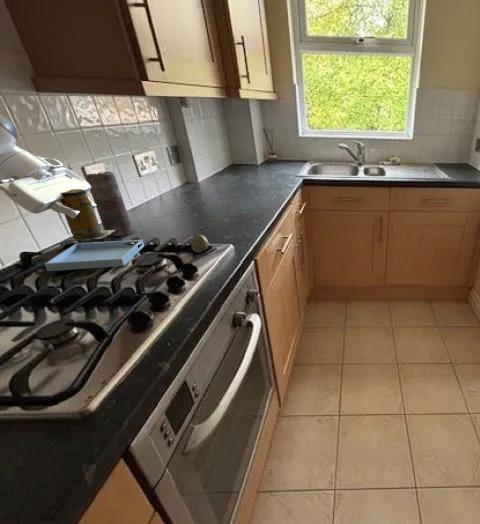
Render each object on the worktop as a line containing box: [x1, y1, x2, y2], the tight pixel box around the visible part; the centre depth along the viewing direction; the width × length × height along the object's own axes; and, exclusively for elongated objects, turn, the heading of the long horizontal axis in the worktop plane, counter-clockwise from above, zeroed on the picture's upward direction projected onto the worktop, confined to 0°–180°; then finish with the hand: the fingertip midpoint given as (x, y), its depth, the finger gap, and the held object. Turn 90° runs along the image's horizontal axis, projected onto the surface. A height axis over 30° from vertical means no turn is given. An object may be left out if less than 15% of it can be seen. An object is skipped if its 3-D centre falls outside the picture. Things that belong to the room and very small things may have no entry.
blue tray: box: [44, 239, 145, 272], centre depth 91 cm, size 17×14×2 cm
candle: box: [84, 171, 134, 237], centre depth 104 cm, size 8×7×20 cm
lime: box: [190, 234, 210, 254], centre depth 96 cm, size 4×5×5 cm
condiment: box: [61, 189, 115, 241], centre depth 86 cm, size 7×8×12 cm
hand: (86, 211), depth 86 cm, fingers closed on condiment, 6 cm apart
